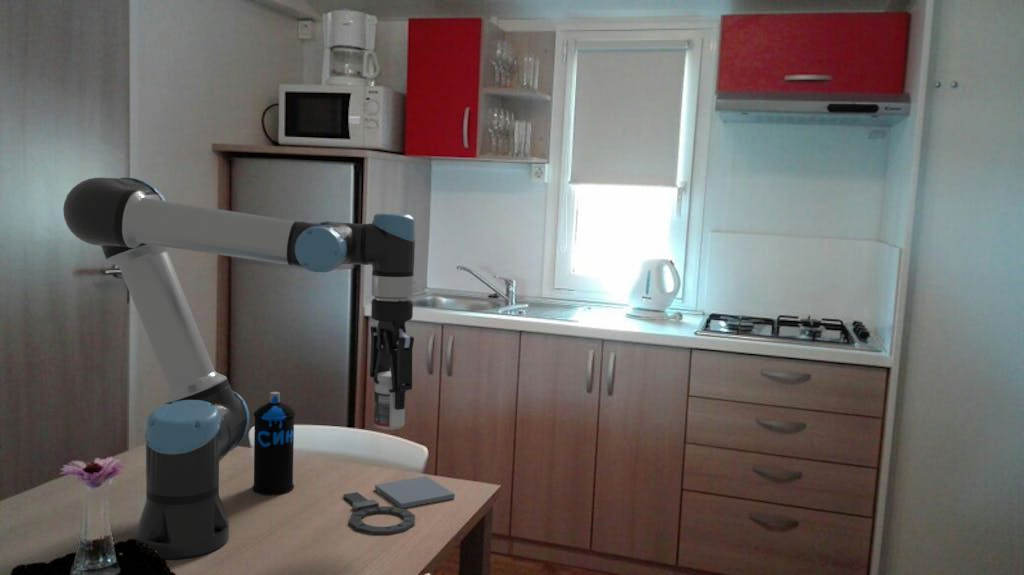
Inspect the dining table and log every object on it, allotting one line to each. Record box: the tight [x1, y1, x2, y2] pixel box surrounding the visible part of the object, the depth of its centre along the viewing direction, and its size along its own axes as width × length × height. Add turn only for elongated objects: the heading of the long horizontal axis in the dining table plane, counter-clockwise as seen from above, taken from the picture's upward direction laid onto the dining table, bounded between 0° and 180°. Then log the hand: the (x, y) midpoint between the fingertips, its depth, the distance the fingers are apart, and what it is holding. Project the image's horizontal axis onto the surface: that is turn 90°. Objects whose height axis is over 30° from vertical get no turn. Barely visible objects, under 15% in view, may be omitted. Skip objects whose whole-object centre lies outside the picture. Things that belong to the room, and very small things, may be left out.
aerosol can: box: [252, 391, 296, 496], centre depth 173 cm, size 8×8×20 cm
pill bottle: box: [373, 370, 406, 430], centre depth 158 cm, size 6×6×10 cm
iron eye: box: [342, 491, 416, 535], centre depth 163 cm, size 12×21×1 cm, turn 34°
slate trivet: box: [374, 475, 456, 509], centre depth 175 cm, size 12×12×1 cm
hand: (389, 421), depth 159 cm, fingers closed on pill bottle, 6 cm apart
